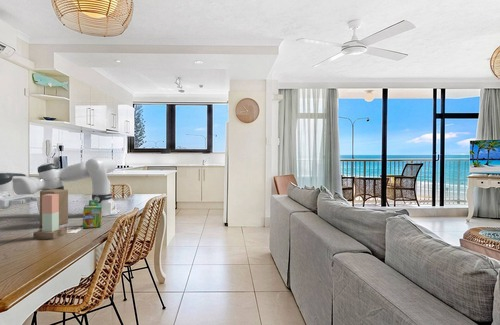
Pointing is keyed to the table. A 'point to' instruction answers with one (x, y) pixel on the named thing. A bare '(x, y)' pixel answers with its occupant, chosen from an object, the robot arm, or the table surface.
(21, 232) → the table surface
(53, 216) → the sage brick
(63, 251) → the table surface
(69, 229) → the page
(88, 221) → the green printed box
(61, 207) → the wooden block
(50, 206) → the coral brick
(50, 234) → the walnut base
